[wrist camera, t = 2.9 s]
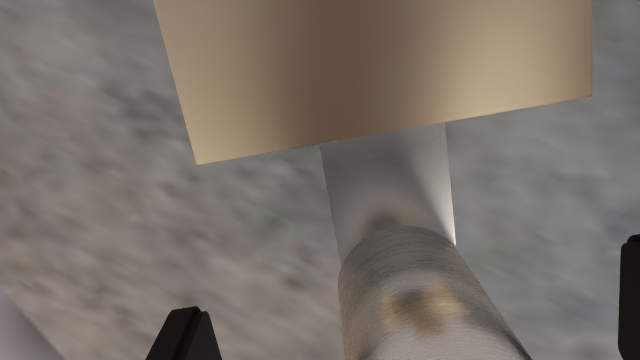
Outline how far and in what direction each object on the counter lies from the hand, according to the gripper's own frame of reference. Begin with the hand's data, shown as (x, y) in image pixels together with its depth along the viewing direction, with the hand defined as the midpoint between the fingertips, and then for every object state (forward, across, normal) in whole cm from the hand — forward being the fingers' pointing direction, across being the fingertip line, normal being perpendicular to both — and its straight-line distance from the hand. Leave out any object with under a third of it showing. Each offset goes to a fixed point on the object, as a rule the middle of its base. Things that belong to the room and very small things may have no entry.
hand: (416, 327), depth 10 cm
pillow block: (+8, 0, -7) cm, 11 cm away
